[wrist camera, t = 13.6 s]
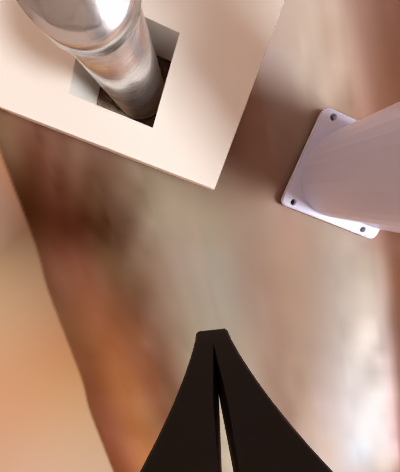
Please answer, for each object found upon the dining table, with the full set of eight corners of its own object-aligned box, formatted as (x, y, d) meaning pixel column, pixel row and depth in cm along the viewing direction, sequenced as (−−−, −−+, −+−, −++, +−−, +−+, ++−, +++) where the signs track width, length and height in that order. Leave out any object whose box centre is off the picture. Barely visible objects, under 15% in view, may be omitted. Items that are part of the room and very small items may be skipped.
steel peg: (174, 65, 14) (146, -101, 6) (162, 130, 15) (124, 58, 7) (113, 47, 14) (1, -153, 6) (105, 114, 15) (-1, 20, 7)
